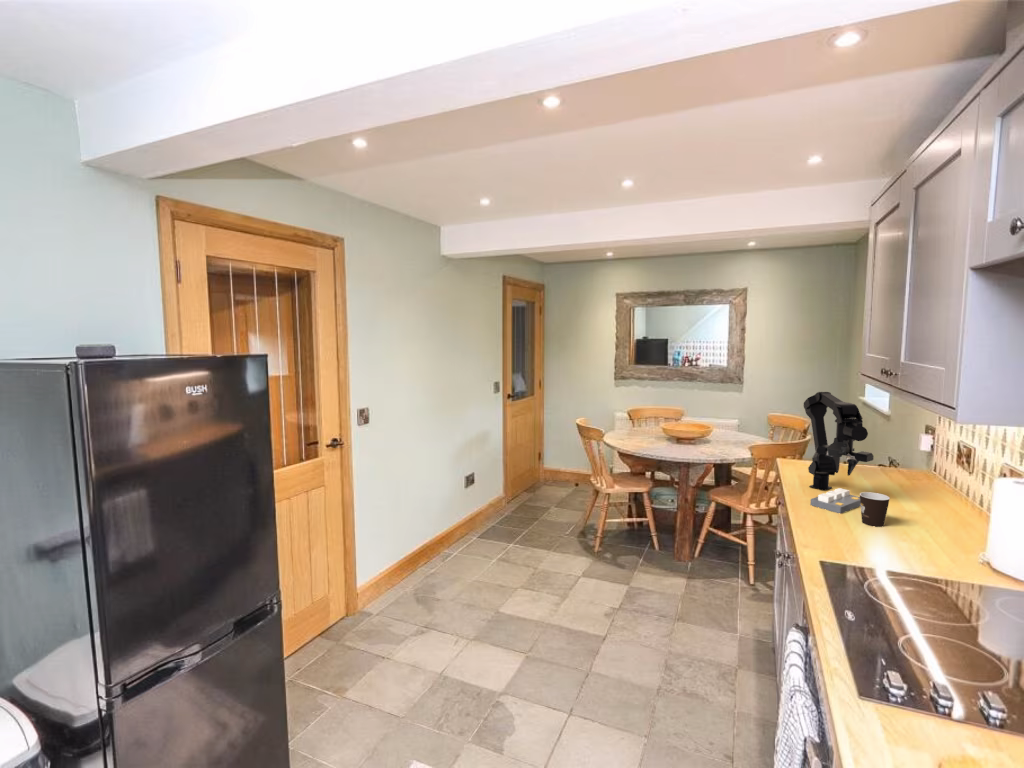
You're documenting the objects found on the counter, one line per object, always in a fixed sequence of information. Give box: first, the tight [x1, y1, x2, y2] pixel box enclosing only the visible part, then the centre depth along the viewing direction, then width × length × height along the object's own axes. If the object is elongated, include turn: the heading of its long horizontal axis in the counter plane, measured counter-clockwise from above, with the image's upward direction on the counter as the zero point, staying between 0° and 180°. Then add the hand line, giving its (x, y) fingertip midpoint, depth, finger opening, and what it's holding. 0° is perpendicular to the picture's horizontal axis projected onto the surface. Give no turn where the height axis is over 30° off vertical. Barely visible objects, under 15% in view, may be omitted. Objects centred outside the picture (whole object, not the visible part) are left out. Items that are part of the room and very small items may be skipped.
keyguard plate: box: [810, 493, 861, 515], centre depth 199 cm, size 18×11×3 cm, turn 121°
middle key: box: [825, 490, 842, 500], centre depth 200 cm, size 4×4×3 cm
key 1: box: [817, 492, 834, 503], centre depth 197 cm, size 4×4×3 cm
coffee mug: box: [859, 491, 891, 528], centre depth 181 cm, size 12×9×10 cm
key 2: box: [833, 487, 851, 497], centre depth 203 cm, size 4×4×3 cm
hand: (842, 474), depth 202 cm, fingers open, 4 cm apart
